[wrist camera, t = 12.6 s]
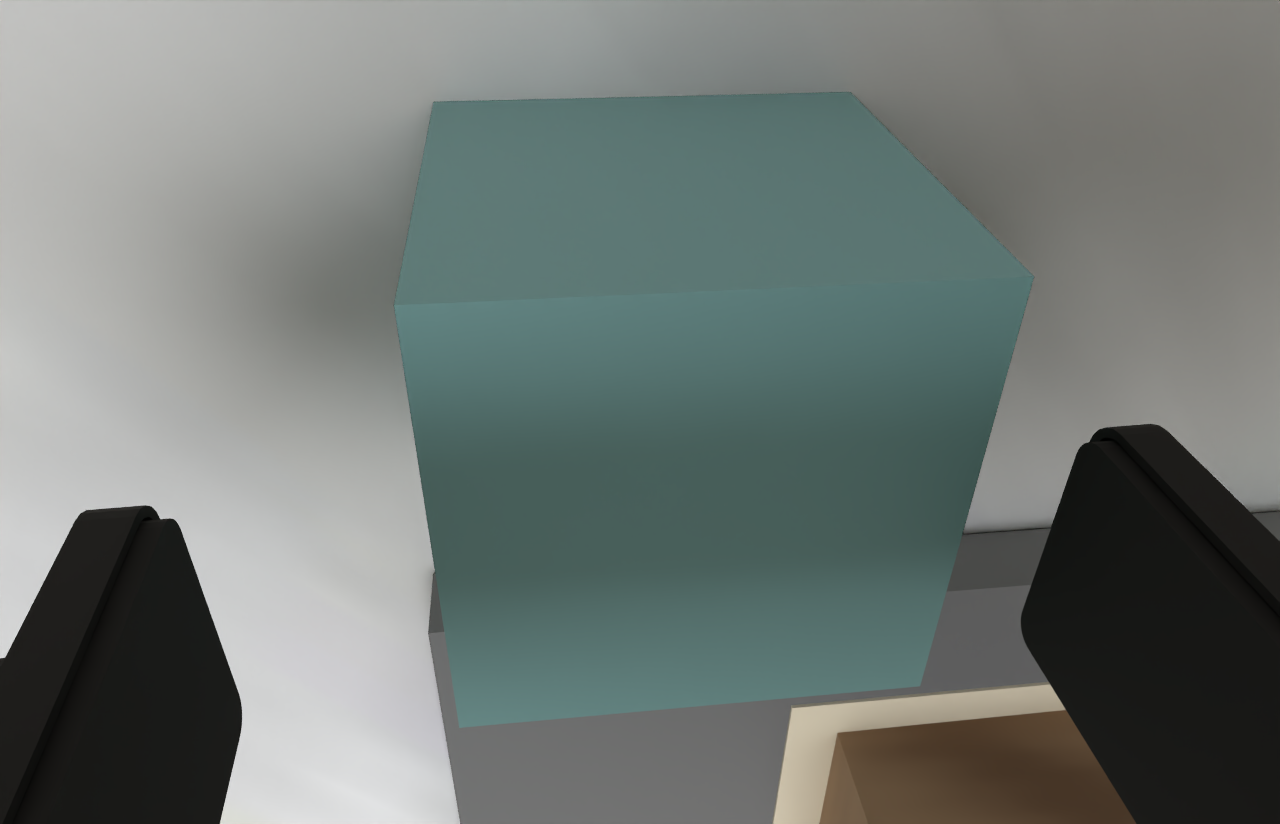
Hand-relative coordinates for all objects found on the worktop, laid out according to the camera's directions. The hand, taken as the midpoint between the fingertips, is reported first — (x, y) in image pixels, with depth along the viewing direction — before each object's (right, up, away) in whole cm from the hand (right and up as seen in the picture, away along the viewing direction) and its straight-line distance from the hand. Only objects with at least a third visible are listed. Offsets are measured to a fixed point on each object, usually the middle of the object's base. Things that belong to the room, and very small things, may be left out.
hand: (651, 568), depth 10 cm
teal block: (0, +4, +5) cm, 6 cm away
